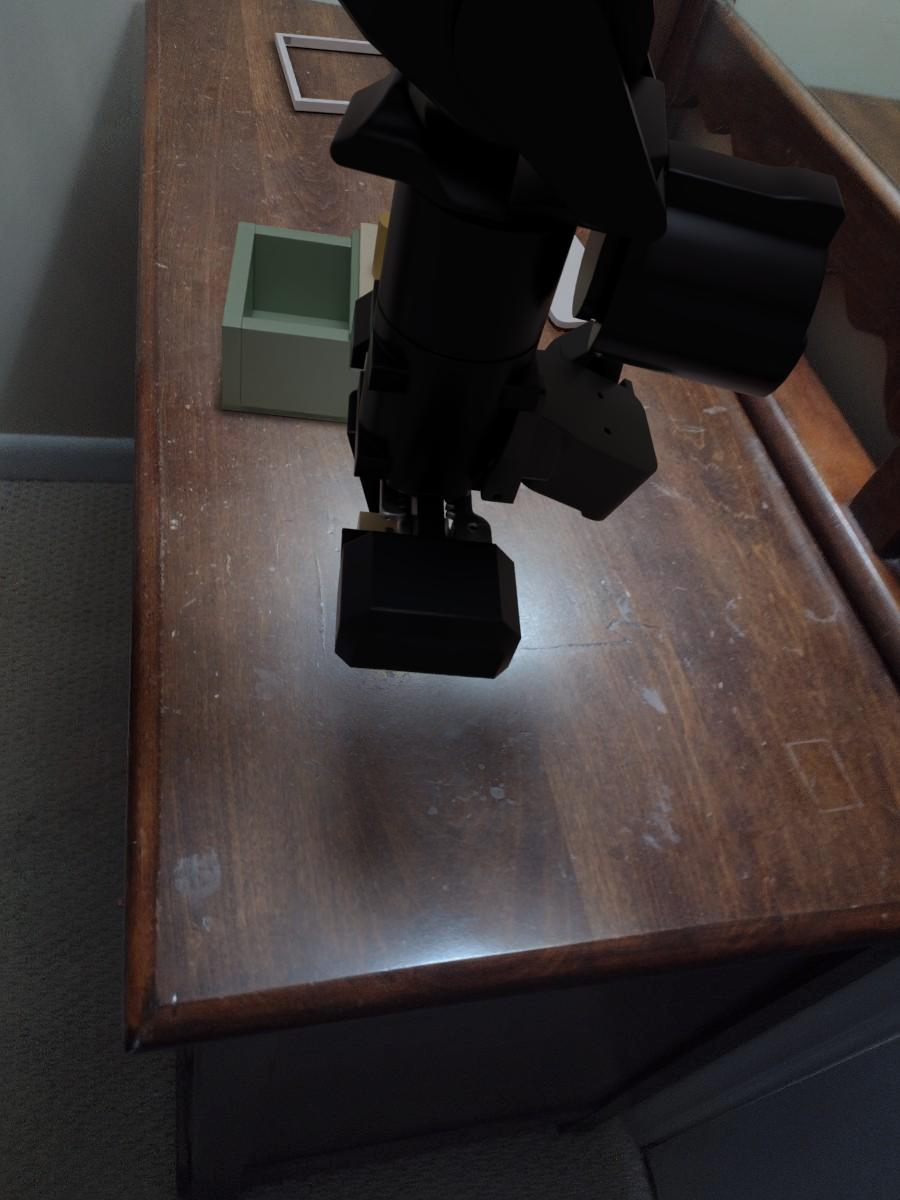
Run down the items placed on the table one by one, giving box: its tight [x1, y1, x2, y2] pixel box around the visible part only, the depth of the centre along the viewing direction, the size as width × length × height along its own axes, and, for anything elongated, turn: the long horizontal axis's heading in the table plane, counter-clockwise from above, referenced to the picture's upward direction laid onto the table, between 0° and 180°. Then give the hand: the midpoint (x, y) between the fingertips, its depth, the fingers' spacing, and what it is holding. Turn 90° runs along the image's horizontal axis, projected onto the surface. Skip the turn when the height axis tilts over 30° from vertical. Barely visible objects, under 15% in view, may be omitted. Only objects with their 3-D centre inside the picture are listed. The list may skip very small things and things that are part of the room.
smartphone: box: [548, 234, 595, 329], centre depth 81 cm, size 7×1×15 cm
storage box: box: [221, 221, 368, 423], centre depth 66 cm, size 16×12×8 cm
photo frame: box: [274, 32, 382, 115], centre depth 97 cm, size 15×1×18 cm
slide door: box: [359, 210, 391, 298], centre depth 62 cm, size 8×12×5 cm
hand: (392, 589), depth 43 cm, fingers closed on maple block, 4 cm apart
